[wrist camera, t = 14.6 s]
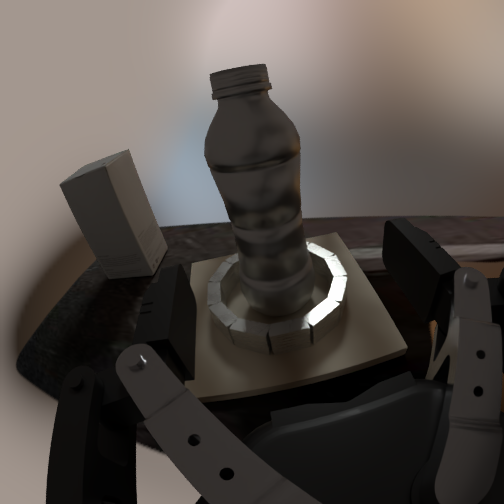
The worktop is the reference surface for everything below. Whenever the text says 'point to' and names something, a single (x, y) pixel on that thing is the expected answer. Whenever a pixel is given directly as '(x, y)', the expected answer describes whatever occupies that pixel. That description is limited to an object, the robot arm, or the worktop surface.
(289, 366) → the birch board
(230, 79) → the plastic bottle
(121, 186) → the skincare box
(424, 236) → the robot arm
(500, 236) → the worktop surface
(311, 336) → the steel collar
